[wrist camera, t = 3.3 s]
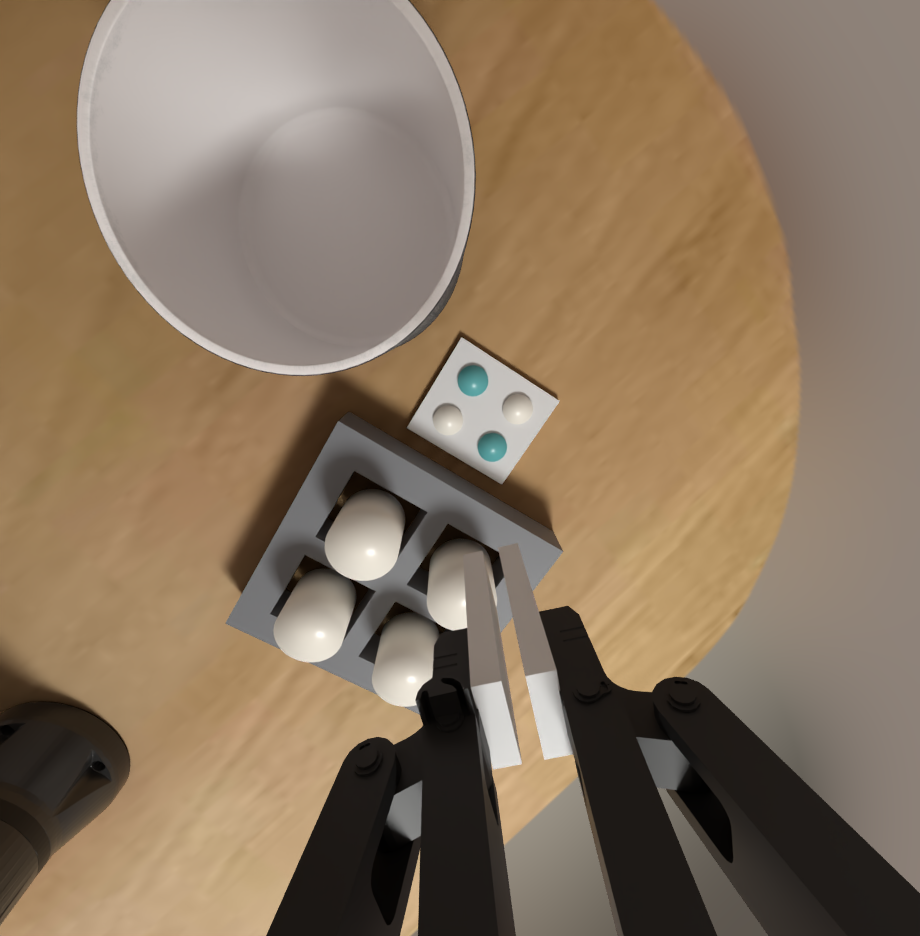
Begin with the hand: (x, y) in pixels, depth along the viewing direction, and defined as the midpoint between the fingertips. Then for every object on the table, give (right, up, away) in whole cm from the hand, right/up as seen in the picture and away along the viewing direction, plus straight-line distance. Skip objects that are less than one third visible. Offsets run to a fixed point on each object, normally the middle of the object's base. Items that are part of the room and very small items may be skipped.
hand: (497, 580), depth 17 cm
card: (+1, +9, +23) cm, 24 cm away
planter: (-10, +22, +19) cm, 31 cm away
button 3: (-6, -12, +26) cm, 30 cm away
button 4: (-1, -5, +24) cm, 25 cm away
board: (-8, -5, +27) cm, 29 cm away
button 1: (-14, -7, +25) cm, 29 cm away
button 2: (-9, 0, +23) cm, 24 cm away
